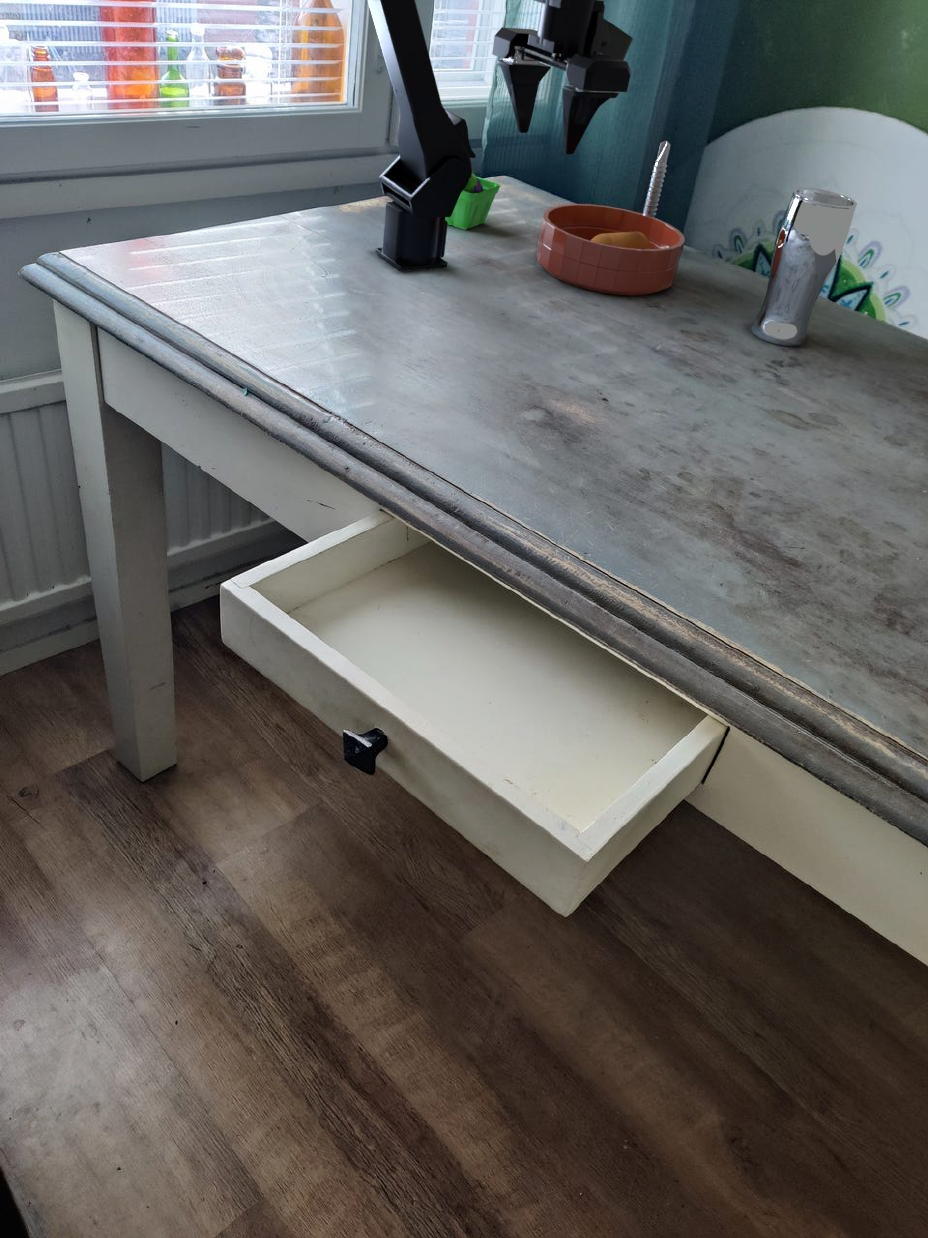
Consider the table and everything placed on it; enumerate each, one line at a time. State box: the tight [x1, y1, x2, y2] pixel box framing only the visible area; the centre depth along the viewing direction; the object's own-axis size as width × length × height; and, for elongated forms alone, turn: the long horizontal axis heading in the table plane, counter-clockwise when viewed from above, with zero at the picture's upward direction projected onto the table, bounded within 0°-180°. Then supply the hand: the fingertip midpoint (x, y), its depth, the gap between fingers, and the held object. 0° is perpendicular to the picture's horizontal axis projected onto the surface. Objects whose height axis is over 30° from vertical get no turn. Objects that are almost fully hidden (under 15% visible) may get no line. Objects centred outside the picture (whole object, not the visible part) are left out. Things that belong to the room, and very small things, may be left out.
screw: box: [641, 139, 671, 218], centre depth 125 cm, size 13×5×5 cm
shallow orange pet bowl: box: [535, 203, 686, 296], centre depth 116 cm, size 17×17×6 cm
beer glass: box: [750, 187, 858, 347], centre depth 104 cm, size 7×7×15 cm
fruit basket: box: [445, 171, 501, 231], centre depth 123 cm, size 11×9×11 cm
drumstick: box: [591, 232, 651, 249], centre depth 116 cm, size 12×4×4 cm, turn 122°
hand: (545, 142), depth 111 cm, fingers open, 9 cm apart
